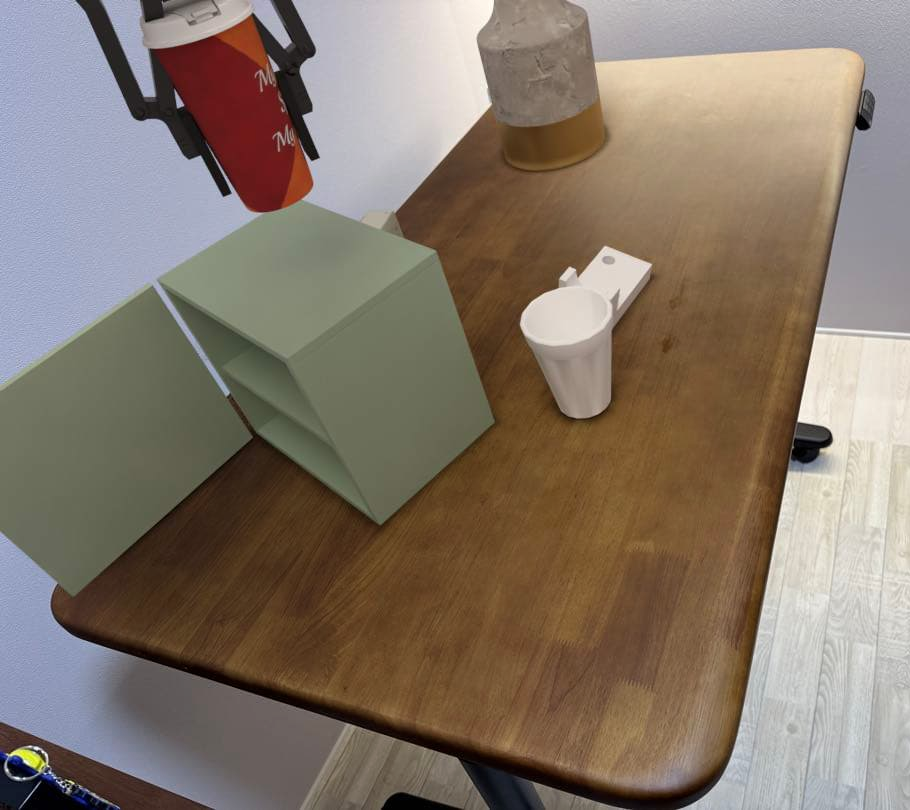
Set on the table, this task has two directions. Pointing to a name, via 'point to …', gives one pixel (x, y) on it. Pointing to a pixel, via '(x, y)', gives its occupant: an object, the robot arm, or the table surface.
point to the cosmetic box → (383, 221)
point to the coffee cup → (232, 97)
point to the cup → (573, 346)
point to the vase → (542, 83)
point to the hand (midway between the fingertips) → (268, 171)
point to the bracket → (612, 278)
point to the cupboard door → (108, 438)
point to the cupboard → (337, 349)
